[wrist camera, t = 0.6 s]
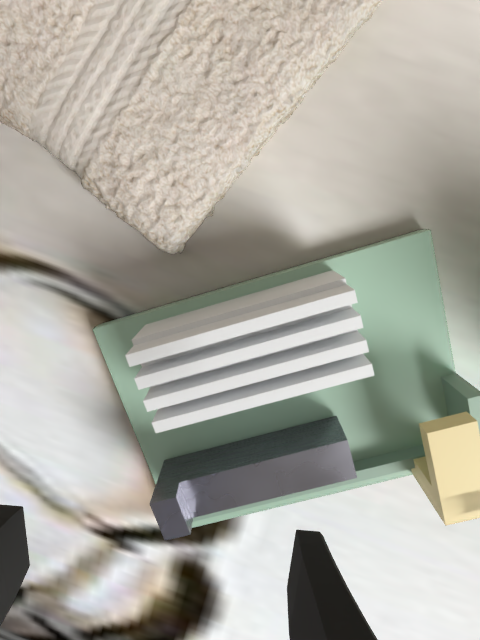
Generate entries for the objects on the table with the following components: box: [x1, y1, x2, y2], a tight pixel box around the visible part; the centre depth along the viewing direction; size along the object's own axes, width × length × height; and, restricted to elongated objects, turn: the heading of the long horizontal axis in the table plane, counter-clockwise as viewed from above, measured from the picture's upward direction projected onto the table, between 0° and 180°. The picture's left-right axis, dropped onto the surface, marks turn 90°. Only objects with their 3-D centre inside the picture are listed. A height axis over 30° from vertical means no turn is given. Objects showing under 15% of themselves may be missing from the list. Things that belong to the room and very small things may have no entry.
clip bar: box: [150, 416, 357, 540], centre depth 19 cm, size 9×2×3 cm, turn 107°
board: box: [93, 229, 480, 528], centre depth 18 cm, size 16×12×4 cm
